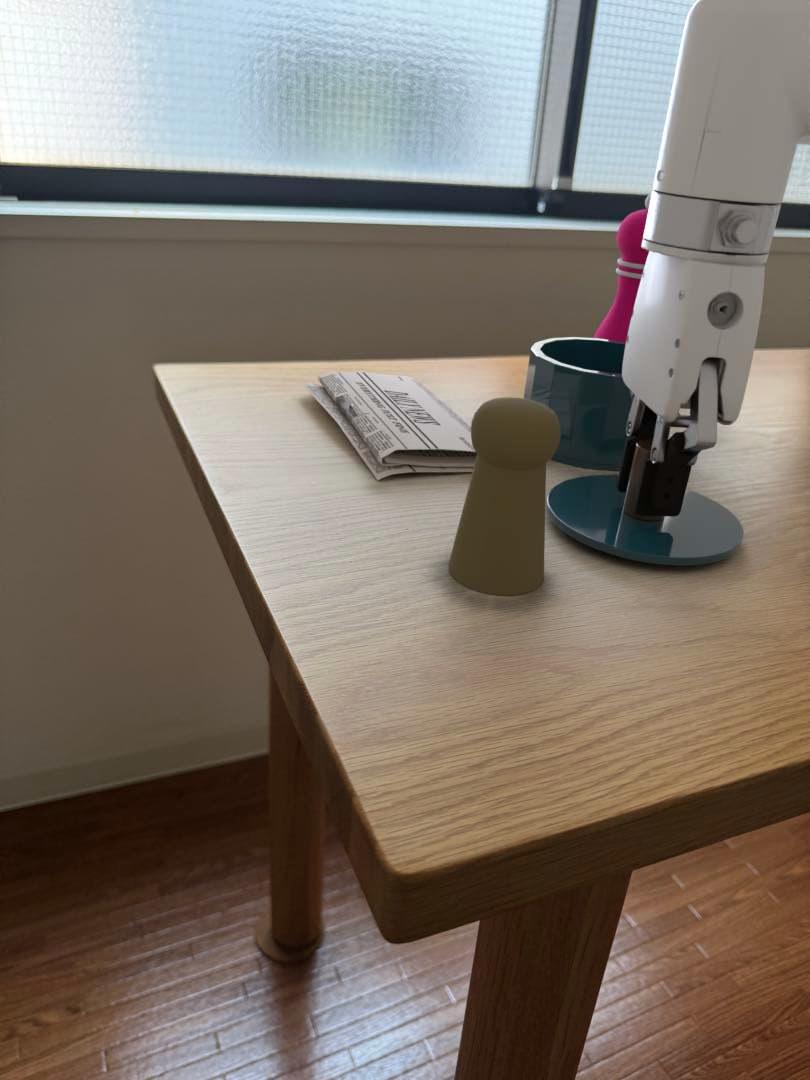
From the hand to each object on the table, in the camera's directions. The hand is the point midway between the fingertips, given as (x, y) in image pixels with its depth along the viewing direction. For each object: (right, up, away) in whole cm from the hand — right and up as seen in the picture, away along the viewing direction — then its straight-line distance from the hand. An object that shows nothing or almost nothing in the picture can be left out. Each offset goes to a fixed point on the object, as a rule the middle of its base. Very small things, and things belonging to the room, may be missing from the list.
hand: (646, 500), depth 60 cm
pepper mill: (+6, +13, +32) cm, 35 cm away
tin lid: (0, -1, +1) cm, 2 cm away
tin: (0, +6, +16) cm, 17 cm away
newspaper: (-18, +7, +16) cm, 25 cm away
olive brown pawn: (-11, -5, -6) cm, 14 cm away
